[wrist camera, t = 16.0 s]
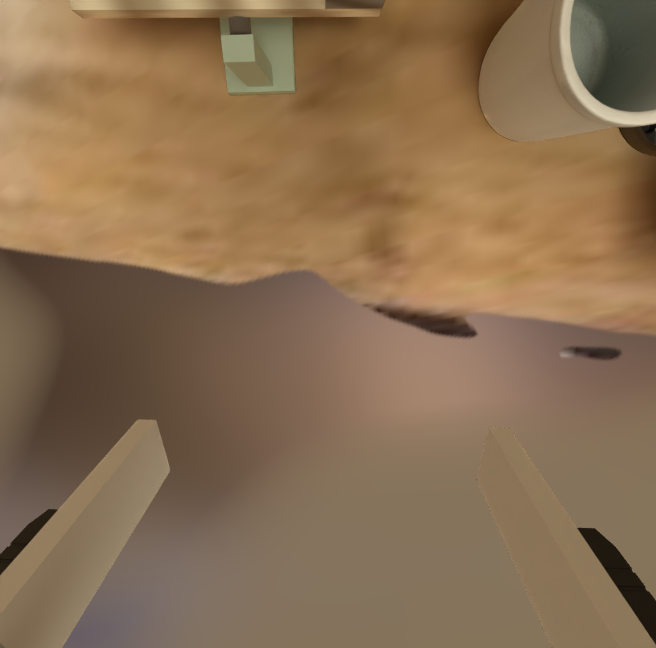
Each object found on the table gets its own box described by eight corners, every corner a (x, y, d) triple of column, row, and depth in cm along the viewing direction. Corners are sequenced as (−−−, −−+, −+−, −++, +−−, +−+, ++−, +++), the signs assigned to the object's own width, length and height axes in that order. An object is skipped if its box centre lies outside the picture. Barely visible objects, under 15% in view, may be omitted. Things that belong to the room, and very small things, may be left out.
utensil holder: (467, 157, 41) (547, 139, 25) (473, 5, 35) (582, -148, 19) (592, 139, 39) (762, 108, 23) (619, -23, 34) (871, -213, 17)
